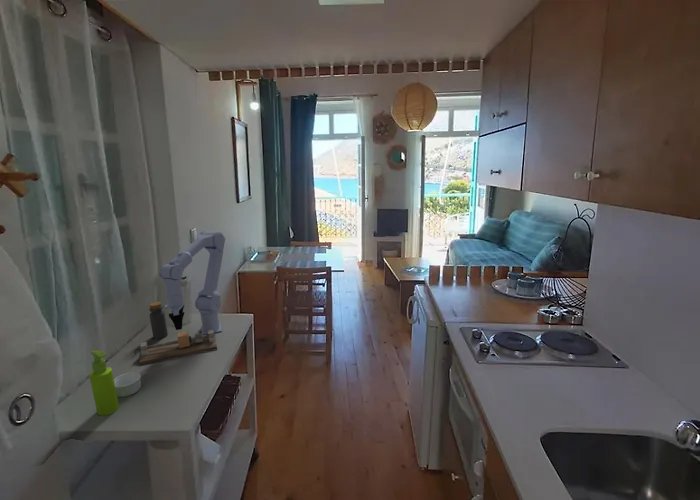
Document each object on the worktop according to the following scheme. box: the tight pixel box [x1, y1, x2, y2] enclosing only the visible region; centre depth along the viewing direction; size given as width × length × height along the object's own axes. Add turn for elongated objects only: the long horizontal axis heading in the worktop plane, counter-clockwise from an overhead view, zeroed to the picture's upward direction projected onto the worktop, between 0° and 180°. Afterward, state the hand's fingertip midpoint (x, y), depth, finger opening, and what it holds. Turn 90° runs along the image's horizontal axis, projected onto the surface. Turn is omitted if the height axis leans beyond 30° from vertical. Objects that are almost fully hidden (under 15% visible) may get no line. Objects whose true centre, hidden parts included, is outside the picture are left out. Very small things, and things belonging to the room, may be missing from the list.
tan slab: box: [138, 330, 218, 366], centre depth 163 cm, size 13×28×5 cm, turn 112°
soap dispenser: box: [89, 349, 120, 417], centre depth 124 cm, size 6×7×20 cm
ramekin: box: [114, 371, 142, 398], centre depth 136 cm, size 9×9×4 cm
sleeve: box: [177, 330, 190, 348], centre depth 164 cm, size 4×4×5 cm
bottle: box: [149, 301, 169, 340], centre depth 176 cm, size 6×6×15 cm
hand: (179, 325), depth 164 cm, fingers open, 7 cm apart
